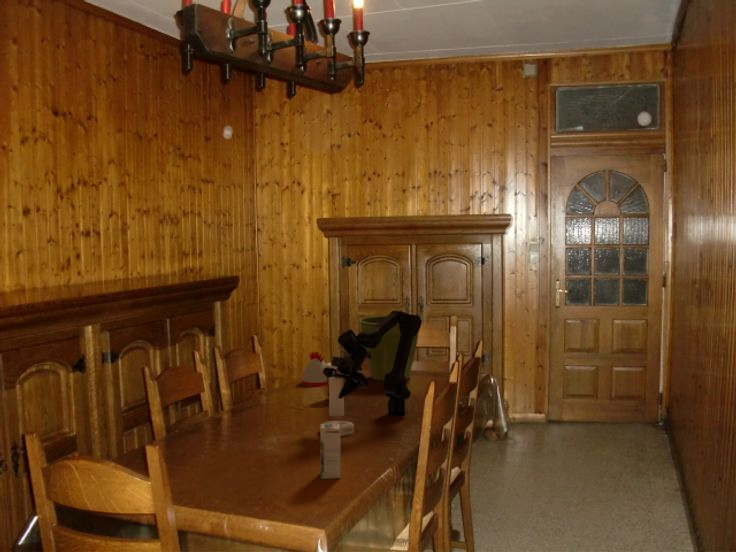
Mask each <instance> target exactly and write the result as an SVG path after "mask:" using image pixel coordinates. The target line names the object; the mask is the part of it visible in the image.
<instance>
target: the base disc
mask: <svg viewBox="0 0 736 552" xmlns="http://www.w3.org/2000/svg"><path fill="white" fill-rule="evenodd" d="M328 423H334V424H340V437H346V436H350V435H353V433H354V432H355V424H353V422H352V421H351V422H350V421H345V420H329V421H325V422H322V424H328ZM319 433H320V434H321V424H319ZM349 434H350V435H349ZM345 435H346V436H345Z"/></svg>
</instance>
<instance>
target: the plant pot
mask: <svg viewBox="0 0 736 552" xmlns="http://www.w3.org/2000/svg"><path fill="white" fill-rule="evenodd" d="M387 316H388V315H380V316H379V315H377V316H370V317H368V316H367V317H363V318H359V320H358V321H359V323H360V330H361V331H360V332H362V331H364V330H366V329H370V328H372V327H374V326H375V325H377V324H378V323H379V322H380V321H382V320H383V319H384V318H385V317H387ZM400 336H401V333H400V330H399V324H397V325H395V326H394V327H393V328H392V329H391V330H389V331H388V332H387V333H386V334H385V335H383V337H382V338H381V342H380V343H379V344H378V345H377V347H376V348H373V349H372V348H365V347H364V348H365V349H366V350H367V351H370V354H371V359H369V358H366V360H367V362H368V367H369V369H370V378H372V379H373V380H375V381H379V382H383V381H384V379H385V374H386V373H388V374H389V373H390V372H391V371H392V368H393V364H394V360H395V356H396V352H397V348H398V344H399V340H400ZM418 337H419V332H418V333H417V334H416V335H415V336H414V338H413V341H412V345H411V349H410V353H409V357H408V361H407V365H406V369H405V377H406V380H408V378H409V379H410V378H411V372H412V367H413V364H414V359H415V356H416V350H417V345H418V339H419V338H418Z"/></svg>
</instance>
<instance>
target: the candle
mask: <svg viewBox="0 0 736 552" xmlns="http://www.w3.org/2000/svg"><path fill="white" fill-rule="evenodd" d="M344 385H345V379H344V378H343V377H337V375H335V377H330V378H329V397H328V401H329V402H328V404H329V405H328V408H329V409H328V411H329V416H330V417H333V418H334V417H342V416H345V396H344V397H343V398H341V399H339V398H338V397H339V394H340V392H341V390H342V388H343V387H344Z"/></svg>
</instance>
